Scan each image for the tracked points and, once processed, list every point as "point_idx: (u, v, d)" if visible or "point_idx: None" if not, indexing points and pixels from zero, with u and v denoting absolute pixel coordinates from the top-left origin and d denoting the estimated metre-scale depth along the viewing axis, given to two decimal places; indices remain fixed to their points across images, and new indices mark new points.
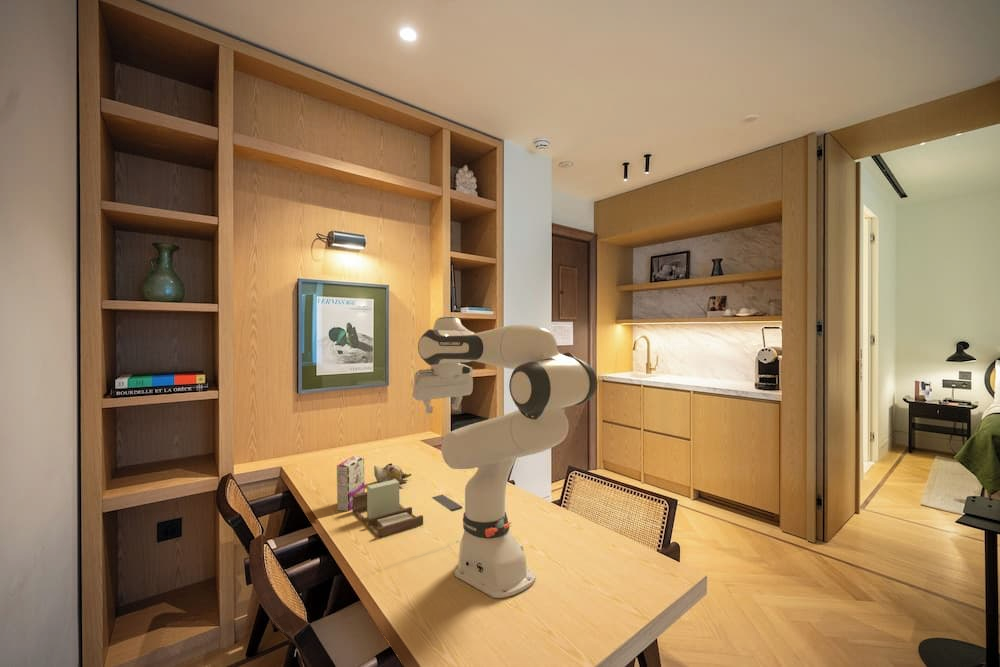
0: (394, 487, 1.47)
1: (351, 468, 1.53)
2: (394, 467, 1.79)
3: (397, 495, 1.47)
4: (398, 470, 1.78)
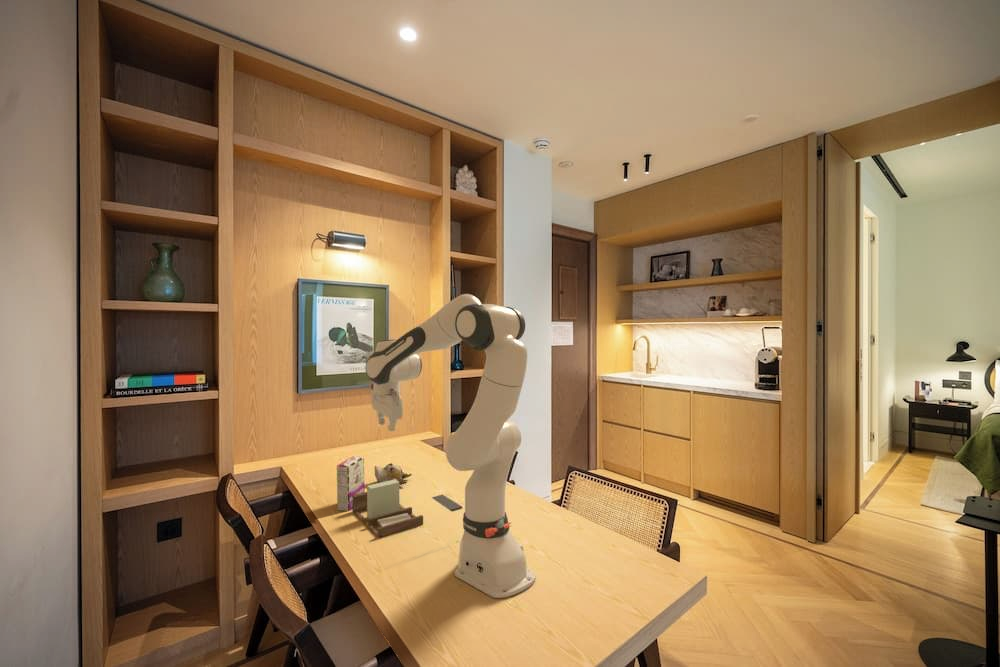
0: (394, 487, 1.47)
1: (351, 468, 1.53)
2: (394, 467, 1.79)
3: (397, 495, 1.47)
4: (398, 470, 1.78)
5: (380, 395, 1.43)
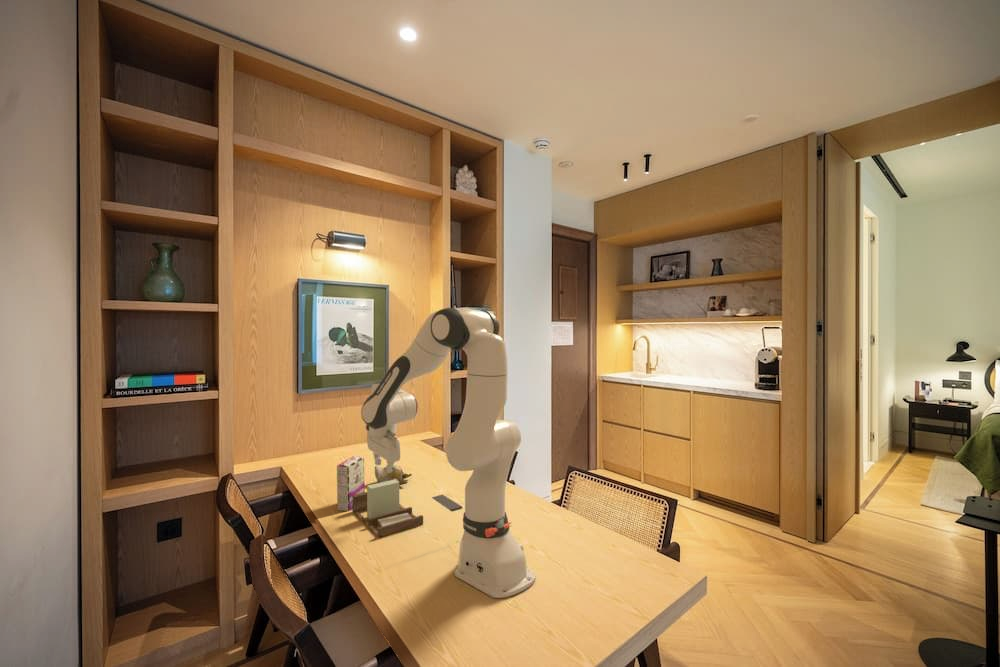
0: (394, 487, 1.47)
1: (351, 468, 1.53)
2: (395, 467, 1.78)
3: (397, 495, 1.47)
4: (399, 470, 1.78)
5: (377, 437, 1.43)
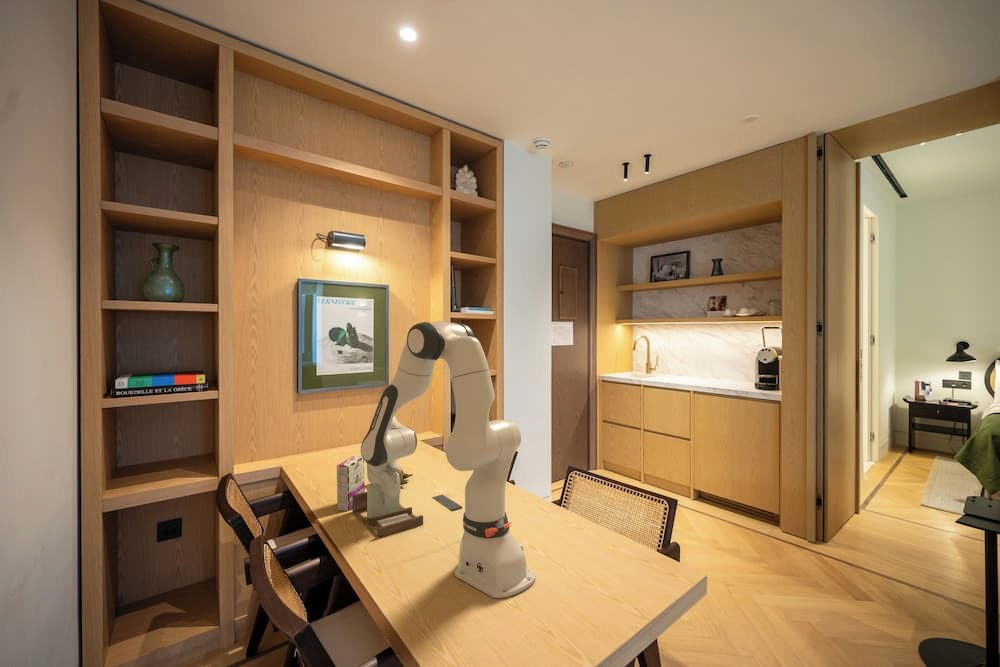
0: None
1: (351, 468, 1.53)
2: (395, 467, 1.78)
3: None
4: (399, 470, 1.78)
5: (377, 471, 1.43)
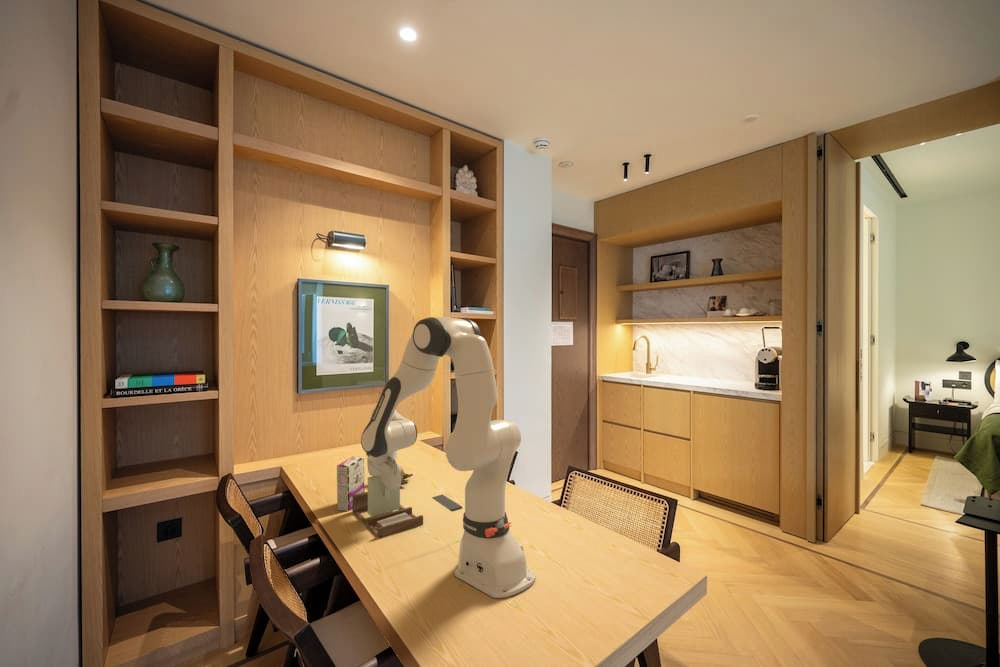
0: None
1: (351, 468, 1.53)
2: None
3: None
4: (400, 470, 1.78)
5: (377, 463, 1.43)
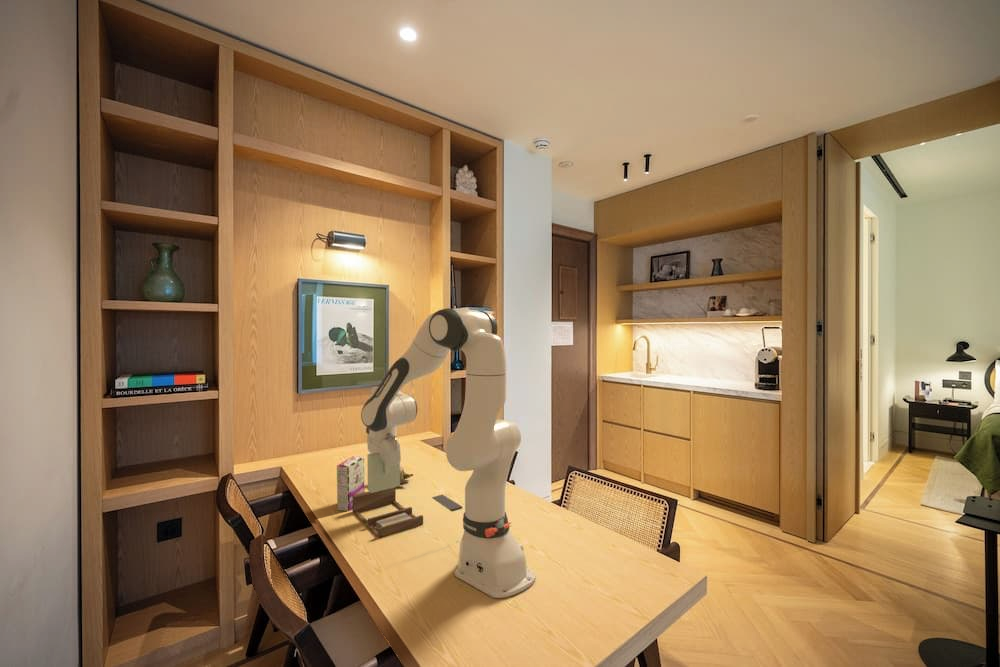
0: None
1: (351, 468, 1.53)
2: None
3: (397, 464, 1.47)
4: (400, 470, 1.78)
5: (377, 440, 1.43)
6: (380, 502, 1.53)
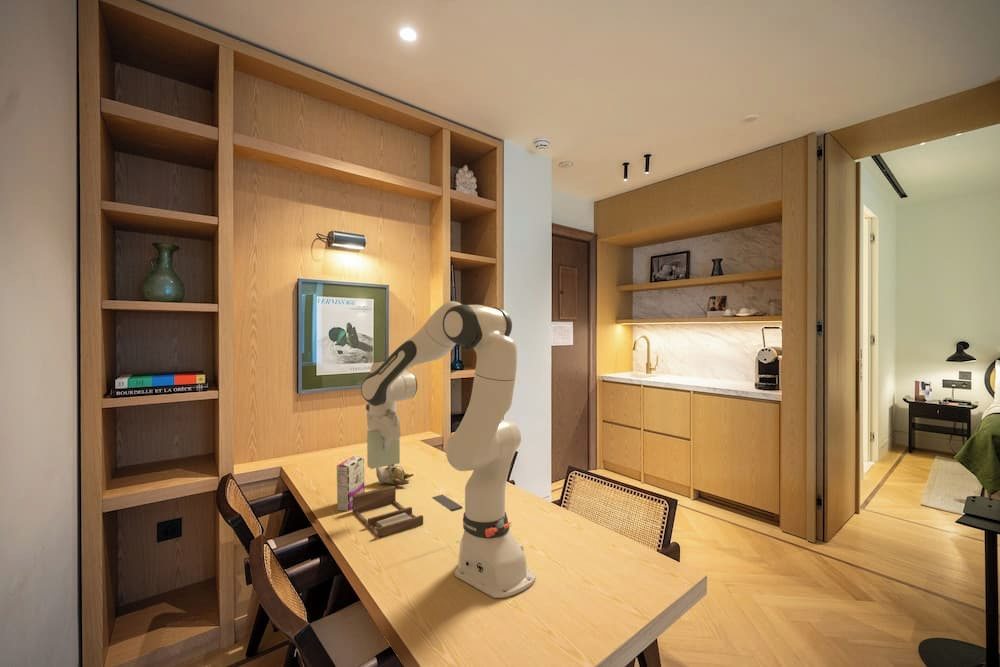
0: None
1: (351, 468, 1.53)
2: (396, 467, 1.78)
3: (397, 441, 1.47)
4: (400, 470, 1.78)
5: (377, 416, 1.43)
6: (380, 502, 1.53)
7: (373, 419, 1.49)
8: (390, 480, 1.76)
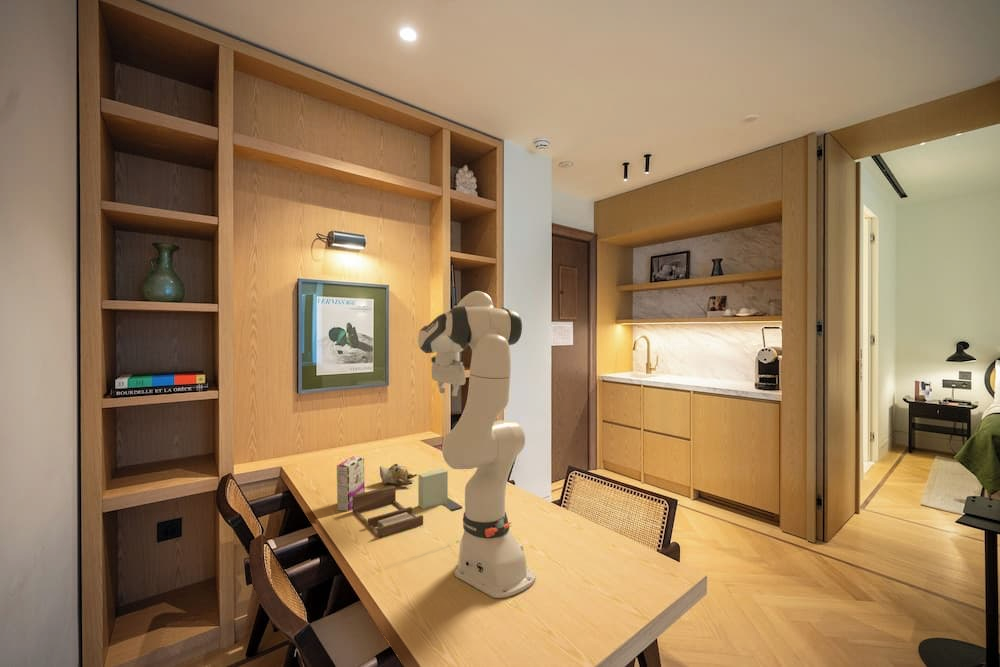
0: (443, 476, 1.56)
1: (351, 468, 1.53)
2: (400, 467, 1.78)
3: (445, 483, 1.57)
4: (404, 470, 1.77)
5: (443, 366, 1.65)
6: (380, 502, 1.53)
7: (438, 370, 1.71)
8: (393, 480, 1.76)
